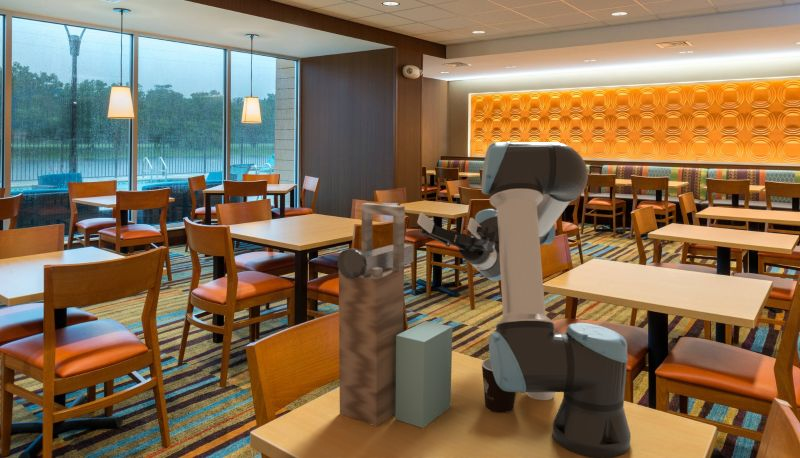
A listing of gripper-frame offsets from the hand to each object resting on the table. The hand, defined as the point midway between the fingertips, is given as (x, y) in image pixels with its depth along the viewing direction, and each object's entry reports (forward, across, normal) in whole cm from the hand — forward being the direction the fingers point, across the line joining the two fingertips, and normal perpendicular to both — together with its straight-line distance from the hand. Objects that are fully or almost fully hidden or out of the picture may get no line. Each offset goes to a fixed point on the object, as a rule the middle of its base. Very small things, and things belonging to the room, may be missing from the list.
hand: (444, 220), depth 140 cm
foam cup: (-28, -22, -31) cm, 48 cm away
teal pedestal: (-7, -4, -43) cm, 44 cm away
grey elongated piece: (+11, +6, -17) cm, 21 cm away
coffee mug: (-20, -16, -36) cm, 44 cm away
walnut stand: (-2, +6, -46) cm, 47 cm away
